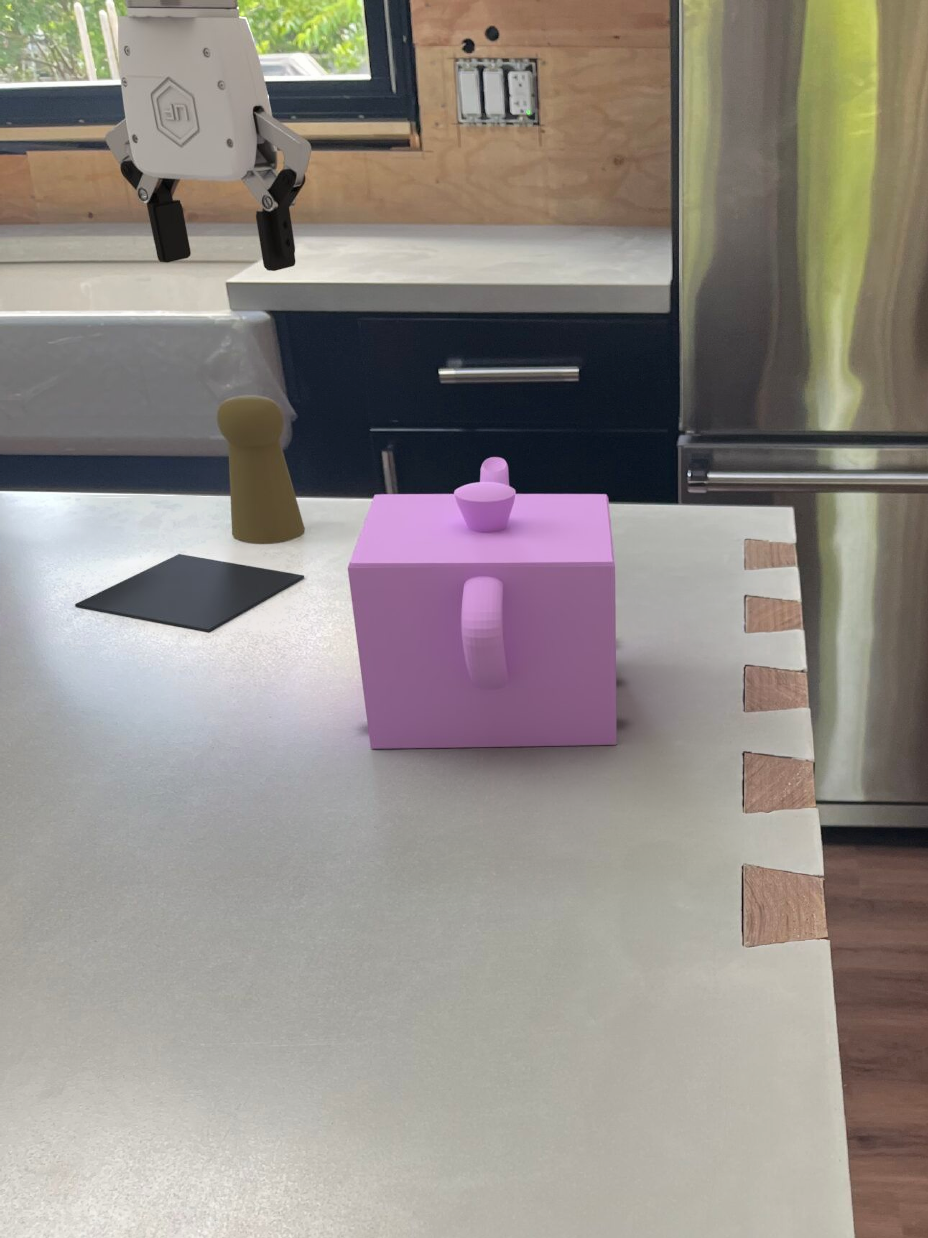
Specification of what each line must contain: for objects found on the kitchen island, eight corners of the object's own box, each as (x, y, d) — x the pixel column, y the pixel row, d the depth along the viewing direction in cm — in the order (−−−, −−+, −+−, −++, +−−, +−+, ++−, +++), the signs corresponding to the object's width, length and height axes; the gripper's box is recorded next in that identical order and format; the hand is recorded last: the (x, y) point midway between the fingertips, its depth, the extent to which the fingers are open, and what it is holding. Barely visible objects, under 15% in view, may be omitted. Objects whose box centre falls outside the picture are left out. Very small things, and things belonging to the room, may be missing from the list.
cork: (230, 523, 115) (207, 391, 108) (301, 518, 116) (282, 387, 110) (233, 546, 110) (209, 409, 104) (307, 540, 112) (288, 405, 105)
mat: (75, 606, 99) (74, 604, 98) (179, 556, 108) (179, 553, 108) (208, 632, 95) (208, 629, 95) (304, 577, 105) (304, 575, 104)
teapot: (606, 621, 99) (604, 428, 91) (619, 782, 78) (618, 552, 70) (402, 623, 97) (381, 427, 89) (361, 787, 77) (329, 553, 69)
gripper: (41, -9, 91) (102, 264, 101) (252, -7, 86) (294, 279, 96) (116, -8, 97) (166, 250, 107) (317, -6, 92) (350, 264, 102)
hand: (227, 264), depth 101 cm, fingers open, 9 cm apart
